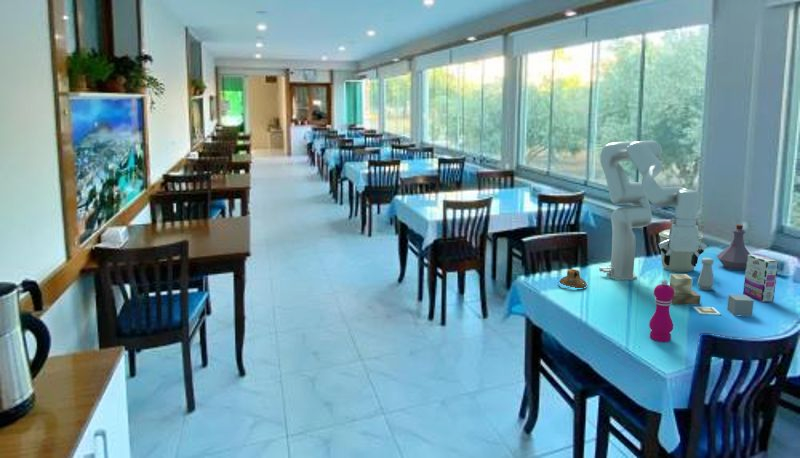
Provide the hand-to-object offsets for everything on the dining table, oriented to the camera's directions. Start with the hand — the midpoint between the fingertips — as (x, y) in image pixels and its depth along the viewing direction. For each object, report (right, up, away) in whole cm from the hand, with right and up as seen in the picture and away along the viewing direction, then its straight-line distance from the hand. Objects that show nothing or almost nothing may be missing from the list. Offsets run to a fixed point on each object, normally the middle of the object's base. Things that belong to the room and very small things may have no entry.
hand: (680, 264), depth 218 cm
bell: (-36, -11, +21) cm, 43 cm away
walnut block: (+1, -14, +2) cm, 14 cm away
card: (+4, -16, -11) cm, 20 cm away
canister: (+20, -5, +42) cm, 47 cm away
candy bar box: (+32, -13, +2) cm, 35 cm away
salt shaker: (+18, -11, +15) cm, 25 cm away
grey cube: (+15, -17, -13) cm, 26 cm away
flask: (+47, -4, +44) cm, 65 cm away
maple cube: (+1, -10, +1) cm, 10 cm away
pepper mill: (-23, -22, -34) cm, 46 cm away
